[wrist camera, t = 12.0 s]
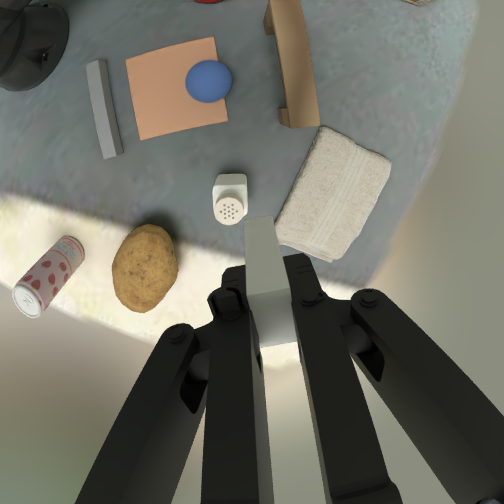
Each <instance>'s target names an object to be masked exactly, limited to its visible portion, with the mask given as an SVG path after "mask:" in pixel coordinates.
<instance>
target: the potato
mask: <svg viewBox="0 0 504 504" xmlns="http://www.w3.org/2000/svg"><path fill="white" fill-rule="evenodd" d="M177 274H178V266H177V261H176V257H175V252H174V247H173V243H172V241H171V238H170V236H169V234H168V233H167V232H166V231H165V230H164V229H163V228H162V227H160V226H156V225H151V224H146V225H143V226H140V227H137V228H135V229H134V230H133V231H132V232H131V233H130V234H129V235H128V236H127V237H126V238H125V240H124V241H123V243H122V244H121V246H120V248H119V249H118V251H117V253H116V256H115V258H114V261H113V264H112V276H113V284H114V289H115V293H116V296H117V297H118V299H119V300H120V302H121V303H122V304H123V305H124V306H126V307H127V308H129V309H130V310H131V311H134V312H139V313H145V312H147V311H149V310H151V309H153V308H154V307H155V306H157V304H158V303H159V302H160V301H161V300H162V299H163V298H164V296H165V295H166V293H167V292H168V291H169V289H170V288H171V287H172V285H173V284H174V283H175V281H176V278H177Z"/></svg>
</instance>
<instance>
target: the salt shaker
mask: <svg viewBox="0 0 504 504" xmlns="http://www.w3.org/2000/svg"><path fill="white" fill-rule="evenodd" d="M212 191H213V208H214V214H215V217H216V219H217V220H218V221H219V222H221V223H222V224H226V225H233V224H236V223H238V222H239V221H240V220H241V219H242V217H243V216H244V215H246V214H247V212H248V203H247V178H246V175H244V174H220V175H218V176H217V179H216V181H215V184H214V187H213V190H212Z"/></svg>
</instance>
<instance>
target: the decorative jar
mask: <svg viewBox="0 0 504 504" xmlns="http://www.w3.org/2000/svg"><path fill="white" fill-rule="evenodd" d="M403 1H406V2H409V3H412V4H415V5H417V6H422V5H425V4H428V3H431V2H433V1H436V0H403Z"/></svg>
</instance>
